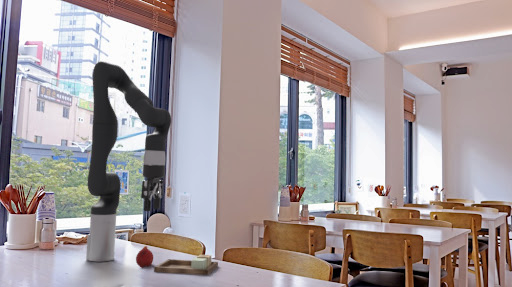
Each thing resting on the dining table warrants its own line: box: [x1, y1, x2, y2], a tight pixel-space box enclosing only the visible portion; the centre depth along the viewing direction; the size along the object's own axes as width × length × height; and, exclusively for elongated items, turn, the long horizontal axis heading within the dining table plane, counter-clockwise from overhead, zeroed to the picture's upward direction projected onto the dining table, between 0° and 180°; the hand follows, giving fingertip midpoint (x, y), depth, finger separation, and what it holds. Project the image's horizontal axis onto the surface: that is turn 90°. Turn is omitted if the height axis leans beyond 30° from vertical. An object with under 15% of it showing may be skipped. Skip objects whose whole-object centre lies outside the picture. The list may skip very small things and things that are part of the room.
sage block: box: [191, 257, 207, 269], centre depth 142 cm, size 4×4×4 cm
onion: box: [135, 245, 154, 269], centre depth 150 cm, size 6×6×8 cm
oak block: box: [196, 254, 212, 269], centre depth 148 cm, size 4×4×4 cm
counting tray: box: [153, 258, 219, 276], centre depth 146 cm, size 18×13×3 cm
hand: (151, 210), depth 152 cm, fingers open, 8 cm apart
